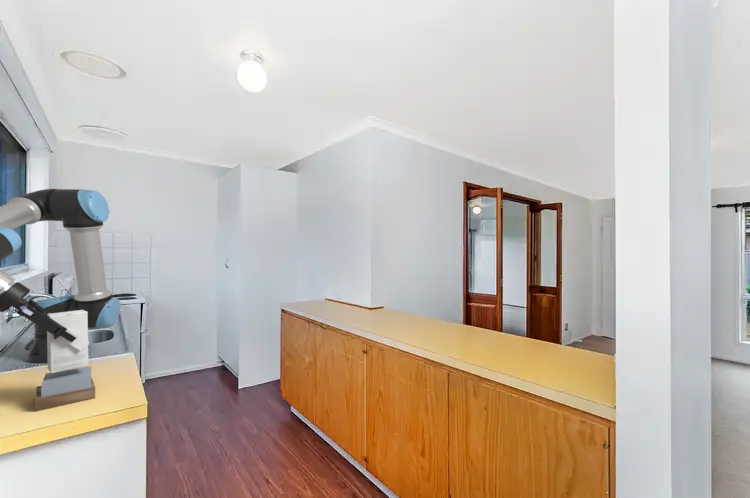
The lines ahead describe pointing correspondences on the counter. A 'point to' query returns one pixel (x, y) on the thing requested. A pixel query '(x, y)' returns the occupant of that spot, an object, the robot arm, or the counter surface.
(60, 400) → the tower base
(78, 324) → the skincare box
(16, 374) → the counter surface
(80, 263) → the robot arm
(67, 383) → the tower top
